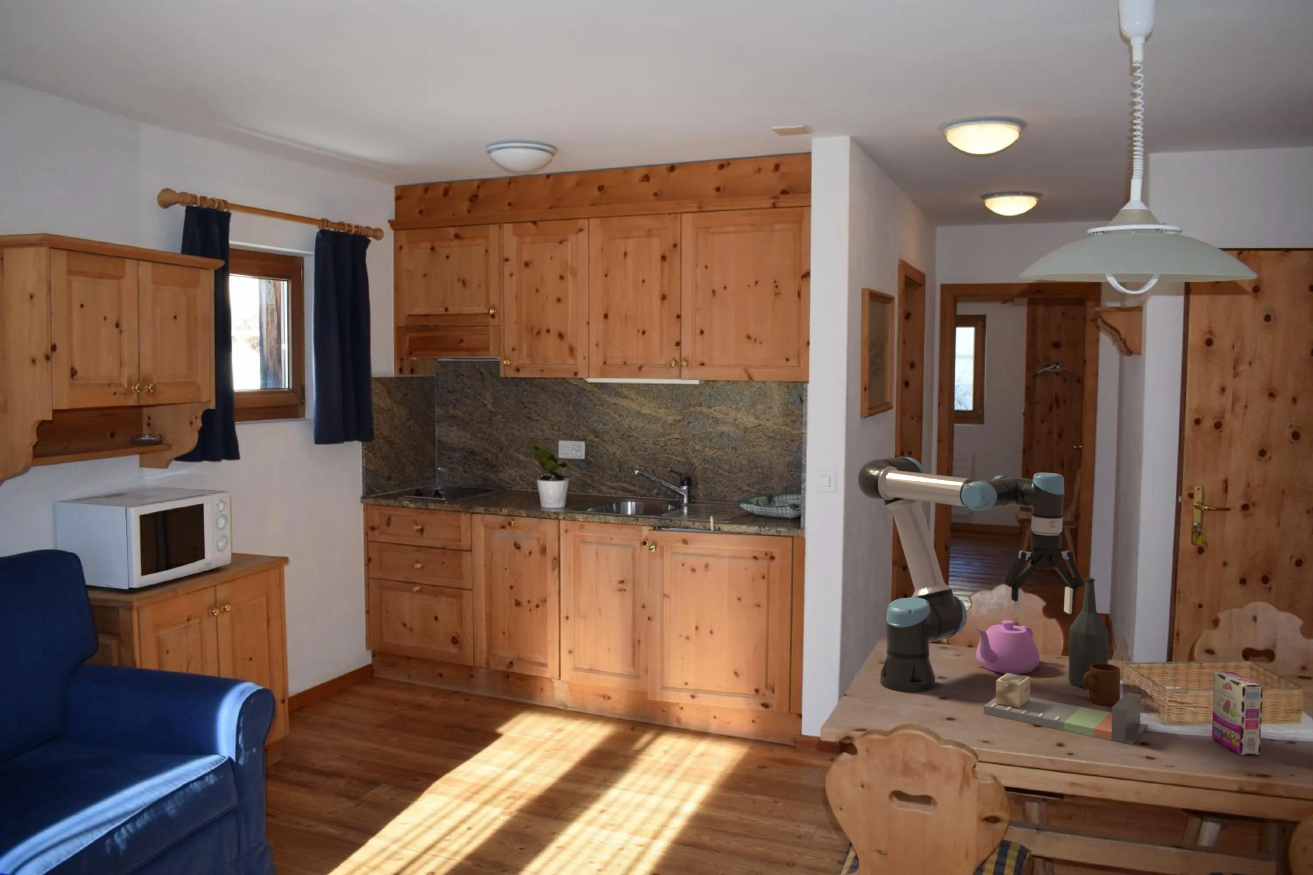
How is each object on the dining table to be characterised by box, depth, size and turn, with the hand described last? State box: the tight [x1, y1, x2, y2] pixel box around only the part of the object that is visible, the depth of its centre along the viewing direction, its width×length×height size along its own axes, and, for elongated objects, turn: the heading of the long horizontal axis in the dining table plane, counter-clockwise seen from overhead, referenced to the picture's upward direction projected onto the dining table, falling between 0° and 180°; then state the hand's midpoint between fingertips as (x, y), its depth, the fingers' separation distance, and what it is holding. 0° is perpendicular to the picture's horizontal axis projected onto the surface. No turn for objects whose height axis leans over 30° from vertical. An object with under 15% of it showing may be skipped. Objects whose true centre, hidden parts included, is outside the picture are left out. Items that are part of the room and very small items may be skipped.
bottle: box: [1068, 577, 1110, 690], centre depth 285 cm, size 10×10×30 cm
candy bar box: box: [1211, 671, 1264, 756], centre depth 238 cm, size 11×5×16 cm, turn 5°
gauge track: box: [983, 696, 1112, 741], centre depth 259 cm, size 31×14×2 cm, turn 51°
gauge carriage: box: [995, 673, 1031, 708], centre depth 264 cm, size 6×10×6 cm, turn 141°
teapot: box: [975, 619, 1041, 675], centre depth 302 cm, size 25×18×14 cm
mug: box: [1083, 663, 1121, 707], centre depth 270 cm, size 12×8×9 cm, turn 120°
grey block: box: [1110, 692, 1149, 746], centre depth 248 cm, size 5×14×8 cm, turn 141°
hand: (1042, 612), depth 268 cm, fingers open, 13 cm apart
